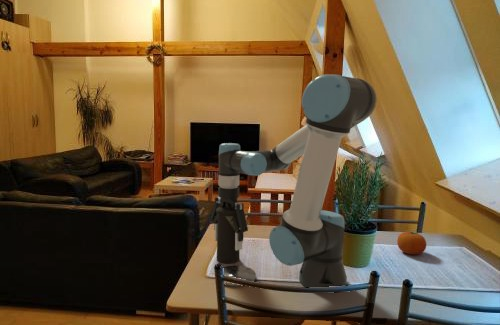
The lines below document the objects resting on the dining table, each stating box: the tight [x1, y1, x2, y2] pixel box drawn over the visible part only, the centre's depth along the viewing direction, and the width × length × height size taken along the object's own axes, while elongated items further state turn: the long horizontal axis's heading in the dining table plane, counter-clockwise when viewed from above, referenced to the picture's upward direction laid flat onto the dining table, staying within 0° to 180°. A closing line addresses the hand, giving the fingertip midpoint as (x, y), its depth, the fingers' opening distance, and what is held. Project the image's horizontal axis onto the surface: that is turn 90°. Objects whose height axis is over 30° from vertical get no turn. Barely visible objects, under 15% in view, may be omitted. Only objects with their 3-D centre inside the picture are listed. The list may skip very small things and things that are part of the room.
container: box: [216, 207, 240, 264], centre depth 127 cm, size 9×9×20 cm
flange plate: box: [222, 264, 257, 288], centre depth 114 cm, size 13×13×1 cm
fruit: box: [396, 231, 427, 256], centre depth 139 cm, size 11×10×8 cm
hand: (228, 244), depth 128 cm, fingers open, 11 cm apart
